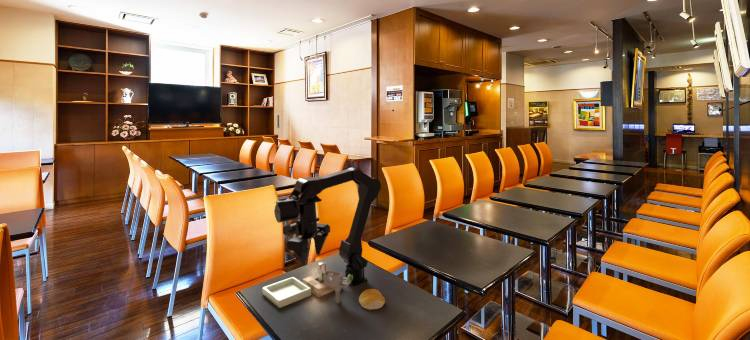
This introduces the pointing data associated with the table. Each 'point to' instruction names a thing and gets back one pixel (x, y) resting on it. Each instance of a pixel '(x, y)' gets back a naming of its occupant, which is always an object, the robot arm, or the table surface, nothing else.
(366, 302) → the bread roll
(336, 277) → the mechanical component
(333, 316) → the table surface
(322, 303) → the table surface
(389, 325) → the table surface
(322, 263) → the pin
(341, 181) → the robot arm
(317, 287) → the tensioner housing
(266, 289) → the parts tray
